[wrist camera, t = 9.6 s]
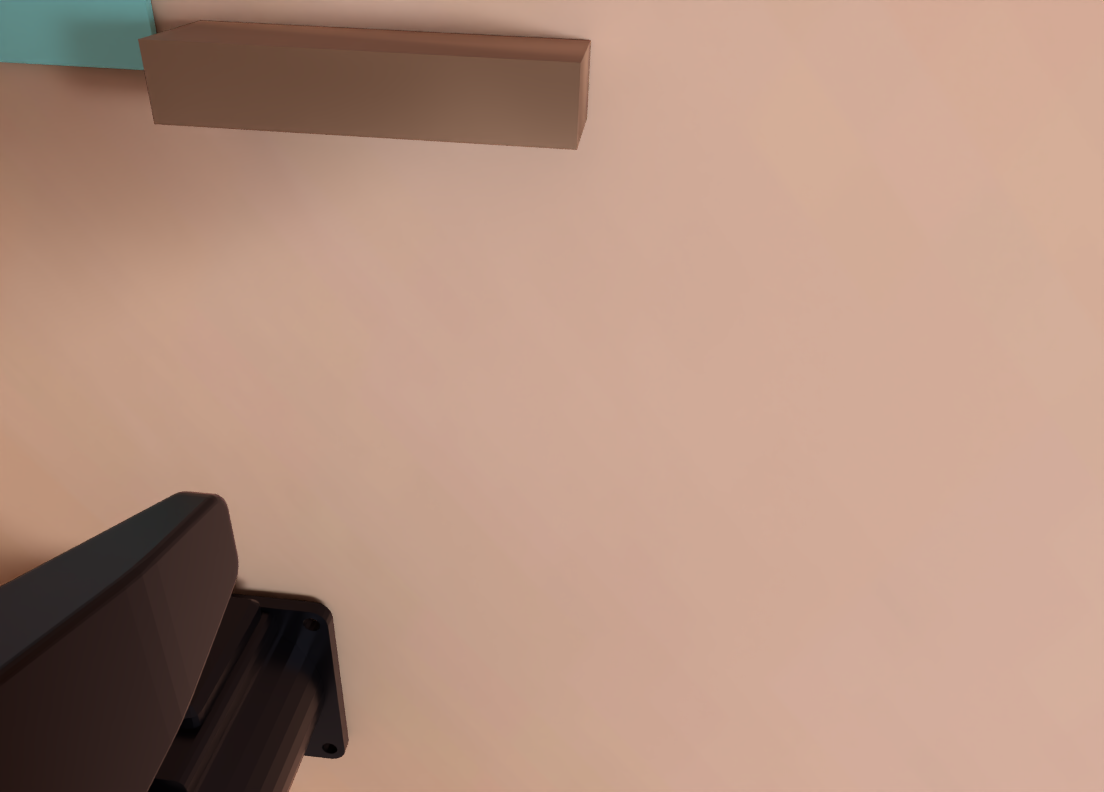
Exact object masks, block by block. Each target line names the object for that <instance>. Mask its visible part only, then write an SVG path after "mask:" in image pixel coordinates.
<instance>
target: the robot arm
mask: <svg viewBox="0 0 1104 792" xmlns="http://www.w3.org/2000/svg"><path fill="white" fill-rule="evenodd" d="M237 575H238V555H237V550H236V545H235V540H234V535H233V530H232V525H231V520H230V515H229V510H228V507H227V504H226V502H225V500H224V499H223V498H222V497H221V496H219V495H217V494H211V493H199V492H188V491H186V492H178V493H176V494H174V495H172V496H170V497H168V498H166V499H164V500H162V501H161V502H159V503H157V504H155V505H153V506H151V507H149V508H147V509H146V510H144V511H142V512H140V513H138V514H136V515H134V516H132V517H130V518H129V519H127V520H125V521H123V522H121V523H119V524H117V525H115V526H113V527H112V528H110V529H108V530H106V531H104V532H102V533H100V534H98V535H97V536H95V537H93V538H91V539H89V540H87V541H85V542H83V543H81V544H80V545H78V546H76V547H74V548H72V549H70V550H68V551H66V552H65V553H63V554H61V555H59V556H57V557H55V558H53V559H51V560H49V561H48V562H46V563H44V564H42V565H40V566H38V567H36V568H34V569H32V570H31V571H29V572H27V573H25V574H23V575H21V576H19V577H17V578H15V579H14V580H12V581H10V582H8V583H6V584H4V585H2V586H0V792H289V790H290V788H291V785H292V783H293V780H294V778H295V775H296V773H297V771H298V768H299V766H300V763H301V761H302V758H303V756H304V755H305V756H314V757H322V758H331V759H334V758H340V757H342V756H343V755H344V753H345V750H346V748H347V745H348V740H349V739H348V731H347V724H346V716H345V708H344V701H343V693H342V685H341V677H340V670H339V662H338V654H337V647H336V639H335V631H334V623H333V616H332V614H331V611H330V610H329V609H328V608H327V607H325V606H324V605H322V604H319V603H315V602H306V601H297V600H287V599H277V598H268V597H258V596H248V595H239V594H232V591H233V588H234V586H235V583H236V579H237ZM311 618H312V619H315V620H316V621H314V620H312V619H311Z"/></svg>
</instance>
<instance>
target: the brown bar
mask: <svg viewBox="0 0 1104 792" xmlns="http://www.w3.org/2000/svg"><path fill="white" fill-rule="evenodd" d="M138 42H139V47H140V52H141V57H142V62H143V68H144V73H145V78H146V83H147V88H148V93H149V98H150V104H151V109H152V114H153V119H154V124H162V125H179V126H195V127H211V128H228V129H244V130H260V131H277V132H293V133H310V134H326V135H342V136H359V137H375V138H392V139H408V140H424V141H441V142H457V143H474V144H490V145H506V146H523V147H539V148H556V149H572V150H577V147H578V144H579V141H580V138H581V135H582V132H583V129H584V126H585V122H586V119H587V107H588V87H589V68H590V48H591V40H573V39H553V38H534V37H514V36H495V35H475V34H456V33H436V32H417V31H397V30H378V29H358V28H339V27H319V26H300V25H280V24H261V23H241V22H222V21H202V20H200V21H197V22H194V23H190V24H187V25H184V26H180V27H177V28H174V29H170V30H167V31H164V32H160V33H157V34H154V35H150V36H147V37H144V38H140V39H138Z"/></svg>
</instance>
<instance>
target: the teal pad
mask: <svg viewBox="0 0 1104 792" xmlns="http://www.w3.org/2000/svg"><path fill="white" fill-rule="evenodd" d="M154 34H157V33H156V27H155V22H154V16H153V11H152V5H151V0H0V62H9V63H27V64H44V65H62V66H80V67H98V68H116V69H134V70H144V68H143V62H142V57H141V52H140V47H139V42H138V39H140V38H144V37H147V36H150V35H154Z"/></svg>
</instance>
